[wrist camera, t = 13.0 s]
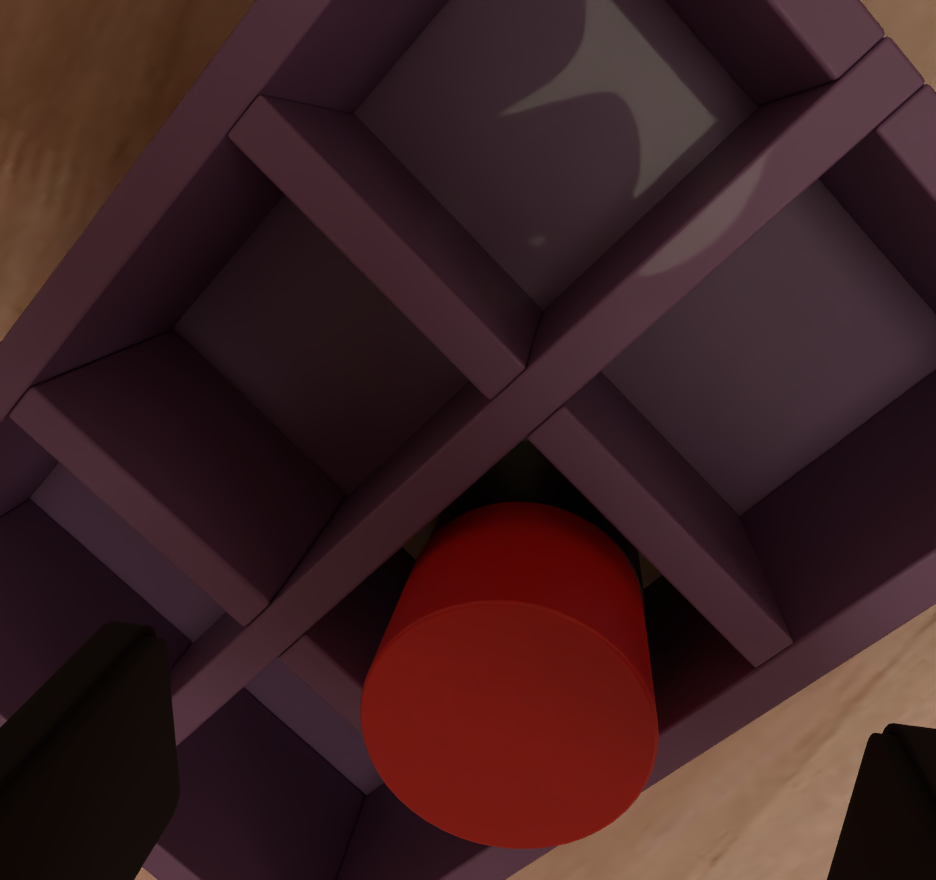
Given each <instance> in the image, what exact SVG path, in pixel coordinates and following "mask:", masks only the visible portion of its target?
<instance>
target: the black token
mask: <svg viewBox="0 0 936 880" xmlns="http://www.w3.org/2000/svg"><path fill="white" fill-rule="evenodd" d="M516 501H517V502H534V503H540V504H546V505H550V506H554V507H557V508H560V509H564V510H566V511H569V512H571V513H573V514H575V515H578V516H580V517H582V518H583V519H585V520H587V521H588V522H590V523H592V524H593V525H595V526H596V527H597V528H599V529H600V530H601V531H603V532H604V533H605V534H606V535H607V536H608V537H609V538H610V539H611V540H612V541H613V542H614V543H615V544H616V545H617V546H618V547H619V548H620V550H621V551H622V552H623V554H624V555H625V556H626V558H627V559H628V561H629V563H630V565H631V567H632V568H633V570H634V573H635V575H636V578H637V580H638V583H639V587H640V591H641V595H642V601H643V609H644V617H645V599H644V590H643V583H642V575H641V568H640V560H639V553H638V550H637V549H636V548H635V547H634V546H633V545H632V544H631V543H630V542H629V541H628V540H627V539H626V538H625V537H624V536H623V535H622V534H621V533H620V532H619V531H618V530H617V529H616V528H615V527H614V526H613V525H612V524H611V523H610V522H609V521H608V520H607V519H606V518H605V516H604V515H603V514H602V513H601V512H600V511H599V510H598V509H597V508H596V507H595V506H594V505H593V504H592V503H591V502H590V501H589V500H588V499H587V498H586V497H585V496H584V495H583V494H582V493H581V492H580V491H579V490H578V489H577V488H576V487H575V486H574V485H573V484H572V483H571V482H570V481H569V480H568V479H567V478H566V477H565V476H564V475H563V474H562V473H561V472H560V471H559V470H558V469H557V468H556V467H555V466H554V465H553V464H552V463H551V462H550V461H549V460H548V459H547V458H546V457H545V456H544V455H543V454H542V453H541V452H540V451H539V450H538V449H537V448H536V447H535V446H534V445H533V444H532V443H531V442H530V441H529V440H528V441H521V442H520V443H519V444H518V445H516V446H515V447H514V448H513V449H512V450H511V451H510V452H509V453H507V454H506V455H505V456H504V457H503V458H502V459H501V460H500V461H498V462H497V463H496V464H495V465H494V466H493V467H492V468H490V469H489V470H488V471H487V472H486V473H485V474H484V475H483V476H481V477H480V478H479V479H478V480H477V481H476V482H475V483H474V484H472V485H471V486H470V487H469V488H468V489H467V490H466V491H465V492H463V493H462V494H461V495H460V496H459V497H458V498H457V499H455V500H454V501H453V502H452V503H451V504H450V505H449V506H448V507H446V508H445V509H444V510H443V511H442V512H441V513H440V514H439V516H438V518H437V520H436V523H435V525H434V528H433V530H432V532H431V535H430V537H429V540H430V539H431V537H432V536H433V535H434V534H435V533H436V532H437V531H439V530H440V529H441V528H442V527H443V526H444V525H446V524H447V523H449V522H450V521H452V520H453V519H455V518H456V517H458V516H460V515H462V514H464V513H466V512H468V511H471V510H474V509H477V508H480V507H483V506H486V505H491V504H496V503H502V502H516ZM429 540H428V541H429Z"/></svg>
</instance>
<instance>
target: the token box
mask: <svg viewBox="0 0 936 880" xmlns="http://www.w3.org/2000/svg"><path fill="white" fill-rule="evenodd" d="M884 34H885V33H884V30H883V28H882V27H881V26H880V24H879V23H878V22H877V21H876V20H875V18H874V17H873V16H872V15H871V13H870V12H869V11H868V10H867V9H866V7H865V6H864V5H863V4H862V2H861V1H860V0H256V1H255V2H254V3H253V5H252V6H251V7H250V9H249V10H248V11H247V13H246V14H245V15H244V17H243V18H242V19H241V21H240V22H239V23H238V25H237V26H236V27H235V29H234V30H233V31H232V33H231V34H230V35H229V37H228V38H227V39H226V41H225V42H224V43H223V45H222V46H221V47H220V49H219V50H218V51H217V53H216V54H215V56H214V57H213V58H212V60H211V61H210V62H209V64H208V65H207V66H206V68H205V69H204V70H203V72H202V73H201V74H200V76H199V77H198V78H197V80H196V81H195V82H194V84H193V85H192V86H191V88H190V89H189V90H188V92H187V93H186V94H185V96H184V97H183V98H182V100H181V101H180V102H179V104H178V105H177V106H176V108H175V109H174V110H173V112H172V113H171V115H170V116H169V117H168V119H167V120H166V121H165V123H164V124H163V125H162V127H161V128H160V129H159V131H158V132H157V133H156V135H155V136H154V137H153V139H152V140H151V141H150V143H149V144H148V145H147V147H146V148H145V149H144V151H143V152H142V153H141V155H140V156H139V157H138V159H137V160H136V161H135V163H134V164H133V165H132V167H131V168H130V170H129V171H128V172H127V174H126V175H125V176H124V178H123V179H122V180H121V182H120V183H119V184H118V186H117V187H116V188H115V190H114V191H113V192H112V194H111V195H110V196H109V198H108V199H107V200H106V202H105V203H104V204H103V206H102V207H101V208H100V210H99V211H98V212H97V214H96V215H95V216H94V218H93V219H92V220H91V222H90V223H89V224H88V226H87V227H86V229H85V230H84V231H83V233H82V234H81V235H80V237H79V238H78V239H77V241H76V242H75V243H74V245H73V246H72V247H71V249H70V250H69V251H68V253H67V254H66V255H65V257H64V258H63V259H62V261H61V262H60V263H59V265H58V266H57V267H56V269H55V270H54V271H53V273H52V274H51V275H50V277H49V278H48V279H47V281H46V282H45V284H44V285H43V286H42V288H41V289H40V290H39V292H38V293H37V294H36V296H35V297H34V298H33V300H32V301H31V302H30V304H29V305H28V306H27V308H26V309H25V310H24V312H23V313H22V314H21V316H20V317H19V318H18V320H17V321H16V322H15V324H14V325H13V326H12V328H11V329H10V330H9V332H8V333H7V334H6V336H5V337H4V339H3V340H2V341H1V343H0V727H1V726H2V725H3V724H4V723H5V722H6V721H7V720H8V719H9V718H10V717H11V716H12V715H13V714H14V713H15V712H16V711H17V710H18V709H19V708H20V707H21V706H22V705H23V704H24V703H25V702H26V701H27V700H28V699H29V698H30V697H31V696H32V695H33V694H34V693H35V692H36V691H37V690H38V689H39V688H40V687H41V686H42V685H43V684H44V683H45V682H46V681H47V680H48V679H49V678H50V677H51V676H52V675H53V674H54V673H55V672H56V671H57V670H58V669H59V668H60V667H61V666H62V665H63V664H64V663H65V662H66V661H67V660H68V659H69V658H70V657H71V656H72V655H73V654H74V653H75V652H76V651H77V650H78V649H79V648H80V647H81V646H82V645H83V644H84V643H85V642H86V641H87V640H88V639H89V638H90V637H91V636H92V635H93V634H94V633H95V632H96V631H97V630H98V629H99V628H100V627H101V626H102V625H104V624H105V623H106V622H108V621H120V622H128V623H136V624H143V625H149V626H151V627H153V628H154V630H155V631H156V635H157V637H159V638H163V639H164V640H165V642H166V645H167V653H168V664H169V675H170V685H171V696H172V707H173V718H174V728H175V739H176V750H177V761H178V771H179V782H180V794H179V800H178V804H177V807H176V810H175V813H174V815H173V816H172V818H171V820H170V822H169V823H168V825H167V827H166V828H165V830H164V832H163V833H162V835H161V836H160V838H159V840H158V841H157V843H156V845H155V846H154V848H153V850H152V851H151V853H150V854H149V856H148V858H147V859H146V861H145V863H144V864H143V866H142V867H143V868H144V869H145V870H147V871H148V872H149V873H150V874H152V875H153V876H154V877H155V878H156V879H158V880H505V879H507V878H508V877H510V876H511V875H513V874H515V873H516V872H518V871H519V870H521V869H522V868H524V867H525V866H527V865H529V864H530V863H532V862H533V861H535V860H536V859H538V858H540V857H541V856H543V855H544V854H546V853H547V852H549V851H550V850H552V849H554V848H555V847H557V846H553V847H547V848H537V849H510V848H500V847H493V846H488V845H483V844H479V843H475V842H472V841H469V840H466V839H462V838H459V837H457V836H455V835H452V834H450V833H448V832H445V831H443V830H441V829H439V828H438V827H436V826H434V825H432V824H430V823H429V822H427V821H425V820H424V819H423V818H421V817H420V816H418V815H417V814H416V813H414V812H413V811H411V810H410V809H409V808H408V807H407V806H406V805H405V804H404V803H402V802H401V801H400V800H399V799H398V798H397V797H396V796H395V794H394V793H393V792H392V791H391V790H390V789H389V788H388V787H387V785H386V784H385V782H384V781H383V780H382V778H381V777H380V775H379V774H378V772H377V770H376V768H375V767H374V765H373V763H372V761H371V759H370V757H369V754H368V751H367V748H366V746H365V743H364V738H363V733H362V729H361V720H360V703H361V693H362V689H363V686H364V682H365V678H366V676H367V673H368V671H369V669H370V666H371V664H372V662H373V659H374V657H375V655H376V652H377V650H378V648H379V645H380V643H381V641H382V638H383V636H384V634H385V631H386V629H387V627H388V624H389V622H390V620H391V617H392V615H393V613H394V610H395V608H396V606H397V603H398V601H399V599H400V596H401V594H402V592H403V589H404V587H405V585H406V582H407V580H408V578H409V575H410V573H411V571H412V568H413V566H414V564H415V561H416V559H417V557H418V555H419V554H420V552H421V550H422V549H423V547H424V546H425V544H426V543H427V542H428V540H429V537H430V535H431V532H432V530H433V528H434V525H435V523H436V520H437V518H438V516H439V514H440V513H441V512H442V511H443V510H444V509H445V508H446V507H448V506H449V505H450V504H451V503H452V502H453V501H454V500H455V499H457V498H458V497H459V496H460V495H461V494H462V493H463V492H465V491H466V490H467V489H468V488H469V487H470V486H471V485H472V484H474V483H475V482H476V481H477V480H478V479H479V478H480V477H481V476H483V475H484V474H485V473H486V472H487V471H488V470H489V469H490V468H492V467H493V466H494V465H495V464H496V463H497V462H498V461H500V460H501V459H502V458H503V457H504V456H505V455H506V454H507V453H509V452H510V451H511V450H512V449H513V448H514V447H515V446H516V445H518V444H519V443H520V442H521V441H528V440H529V441H530V442H531V443H532V444H533V445H534V446H535V447H536V448H537V449H538V450H539V451H540V452H541V453H542V454H543V455H544V456H545V457H546V458H547V459H548V460H549V461H550V462H551V463H552V464H553V465H554V466H555V467H556V468H557V469H558V470H559V471H560V472H561V473H562V474H563V475H564V476H565V477H566V478H567V479H568V480H569V481H570V482H571V483H572V484H573V485H574V486H575V487H576V488H577V489H578V490H579V491H580V492H581V493H582V494H583V495H584V496H585V497H586V498H587V499H588V500H589V501H590V502H591V503H592V504H593V505H594V506H595V507H596V508H597V509H598V510H599V511H600V512H601V513H602V514H603V515H604V516H605V518H606V519H607V520H608V521H609V522H610V523H611V524H612V525H613V526H614V527H615V528H616V529H617V530H618V531H619V532H620V533H621V534H622V535H623V536H624V537H625V538H626V539H627V540H628V541H629V542H630V543H631V544H632V545H633V546H634V547H635V548H636V549H637V550H638V553H639V560H640V568H641V575H642V583H643V590H644V599H645V624H646V632H647V640H648V648H649V656H650V663H651V671H652V679H653V687H654V694H655V702H656V710H657V718H658V730H659V741H658V752H657V756H656V760H655V764H654V768H653V770H652V772H651V775H650V777H649V779H648V782H647V784H646V785H645V787H644V788H643V790H642V792H643V791H644V790H646V789H647V788H649V787H650V786H652V785H654V784H655V783H657V782H658V781H660V780H661V779H663V778H664V777H666V776H668V775H669V774H671V773H672V772H674V771H675V770H677V769H678V768H680V767H682V766H683V765H685V764H686V763H688V762H689V761H691V760H693V759H694V758H696V757H697V756H699V755H700V754H702V753H703V752H705V751H707V750H708V749H710V748H711V747H713V746H714V745H716V744H718V743H719V742H721V741H722V740H724V739H725V738H727V737H728V736H730V735H732V734H733V733H735V732H736V731H738V730H739V729H741V728H742V727H744V726H746V725H747V724H749V723H750V722H752V721H753V720H755V719H757V718H758V717H760V716H761V715H763V714H764V713H766V712H767V711H769V710H771V709H772V708H774V707H775V706H777V705H778V704H780V703H782V702H783V701H785V700H786V699H788V698H789V697H791V696H792V695H794V694H796V693H797V692H799V691H800V690H802V689H803V688H805V687H807V686H808V685H810V684H811V683H813V682H814V681H816V680H817V679H819V678H821V677H822V676H824V675H825V674H827V673H828V672H830V671H831V670H833V669H835V668H836V667H838V666H839V665H841V664H842V663H844V662H846V661H847V660H849V659H850V658H852V657H853V656H855V655H856V654H858V653H860V652H861V651H863V650H864V649H866V648H867V647H869V646H871V645H872V644H874V643H875V642H877V641H878V640H880V639H881V638H883V637H885V636H886V635H888V634H889V633H891V632H892V631H894V630H895V629H897V628H899V627H900V626H902V625H903V624H905V623H906V622H908V621H910V620H911V619H913V618H914V617H916V616H917V615H919V614H920V613H922V612H924V611H925V610H927V609H928V608H930V607H931V606H933V605H935V604H936V92H935V91H934V90H933V88H932V87H931V86H930V85H928V84H925V85H923V84H924V82H925V81H924V78H923V77H922V75H921V74H920V73H919V72H918V70H917V69H916V68H915V67H914V66H913V64H912V63H911V62H910V61H909V59H908V58H907V57H906V56H905V55H904V53H903V52H902V51H901V50H900V48H899V47H898V46H897V45H896V44H895V42H894V41H893V40H892V39H891V38H890V37H885V38H883V36H884Z"/></svg>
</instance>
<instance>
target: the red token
mask: <svg viewBox="0 0 936 880" xmlns="http://www.w3.org/2000/svg"><path fill="white" fill-rule="evenodd" d="M360 720H361V729H362V733H363V738H364V743H365V746H366V748H367V751H368V754H369V757H370V759H371V761H372V763H373V765H374V767H375V768H376V770H377V772H378V774H379V775H380V777H381V778H382V780H383V781H384V782H385V784H386V785H387V787H388V788H389V789H390V790H391V791H392V792H393V793H394V794H395V796H396V797H397V798H398V799H399V800H400V801H401V802H402V803H404V804H405V805H406V806H407V807H408V808H409V809H410V810H411V811H413V812H414V813H416V814H417V815H418V816H420V817H421V818H423V819H424V820H425V821H427V822H429V823H430V824H432V825H434V826H436V827H438V828H439V829H441V830H443V831H445V832H448V833H450V834H452V835H455V836H457V837H459V838H462V839H466V840H469V841H472V842H475V843H479V844H483V845H488V846H493V847H500V848H510V849H537V848H547V847H553V846H558V845H562V844H567V843H570V842H573V841H576V840H579V839H582V838H585V837H587V836H589V835H591V834H593V833H595V832H597V831H599V830H601V829H603V828H604V827H606V826H607V825H609V824H610V823H612V822H614V821H615V820H616V819H617V818H618V817H619V816H621V815H622V814H623V813H624V812H625V811H626V810H627V809H628V808H629V807H630V806H631V805H632V804H633V802H634V801H635V800H636V799H637V798H638V796H639V795H640V793H641V792H642V790H643V788H644V787H645V785H646V784H647V782H648V779H649V777H650V775H651V772H652V770H653V768H654V764H655V760H656V756H657V752H658V741H659V730H658V718H657V710H656V702H655V694H654V687H653V679H652V671H651V663H650V656H649V648H648V640H647V632H646V624H645V617H644V609H643V601H642V595H641V591H640V587H639V583H638V580H637V578H636V575H635V573H634V570H633V568H632V567H631V565H630V563H629V561H628V559H627V558H626V556H625V555H624V554H623V552H622V551H621V550H620V548H619V547H618V546H617V545H616V544H615V543H614V542H613V541H612V540H611V539H610V538H609V537H608V536H607V535H606V534H605V533H604V532H603V531H601V530H600V529H599V528H597V527H596V526H595V525H593V524H592V523H590V522H588V521H587V520H585V519H583V518H582V517H580V516H578V515H575V514H573V513H571V512H569V511H566V510H564V509H560V508H557V507H554V506H550V505H546V504H540V503H534V502H517V501H516V502H502V503H496V504H491V505H486V506H483V507H480V508H477V509H474V510H471V511H468V512H466V513H464V514H462V515H460V516H458V517H456V518H455V519H453V520H452V521H450V522H449V523H447V524H446V525H444V526H443V527H442V528H441V529H440V530H439V531H437V532H436V533H435V534H434V535H433V536H432V537H431V539H430V540H429V541H428V542H427V543H426V544H425V546H424V547H423V549H422V550H421V552H420V554H419V555H418V557H417V559H416V561H415V564H414V566H413V568H412V571H411V573H410V575H409V578H408V580H407V582H406V585H405V587H404V589H403V592H402V594H401V596H400V599H399V601H398V603H397V606H396V608H395V610H394V613H393V615H392V617H391V620H390V622H389V624H388V627H387V629H386V631H385V634H384V636H383V638H382V641H381V643H380V645H379V648H378V650H377V652H376V655H375V657H374V659H373V662H372V664H371V666H370V669H369V671H368V673H367V676H366V678H365V682H364V686H363V689H362V693H361V703H360Z"/></svg>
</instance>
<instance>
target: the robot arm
mask: <svg viewBox="0 0 936 880" xmlns="http://www.w3.org/2000/svg"><path fill="white" fill-rule="evenodd" d="M179 794H180V782H179V771H178V761H177V750H176V739H175V728H174V718H173V707H172V696H171V685H170V675H169V664H168V653H167V645H166V642H165V640H164V639H163V638H159V637H157V635H156V631H155V630H154V628H153V627H151V626H149V625H143V624H136V623H128V622H120V621H108V622H106V623H105V624H104V625H102V626H101V627H100V628H99V629H98V630H97V631H96V632H95V633H94V634H93V635H92V636H91V637H90V638H89V639H88V640H87V641H86V642H85V643H84V644H83V645H82V646H81V647H80V648H79V649H78V650H77V651H76V652H75V653H74V654H73V655H72V656H71V657H70V658H69V659H68V660H67V661H66V662H65V663H64V664H63V665H62V666H61V667H60V668H59V669H58V670H57V671H56V672H55V673H54V674H53V675H52V676H51V677H50V678H49V679H48V680H47V681H46V682H45V683H44V684H43V685H42V686H41V687H40V688H39V689H38V690H37V691H36V692H35V693H34V694H33V695H32V696H31V697H30V698H29V699H28V700H27V701H26V702H25V703H24V704H23V705H22V706H21V707H20V708H19V709H18V710H17V711H16V712H15V713H14V714H13V715H12V716H11V717H10V718H9V719H8V720H7V721H6V722H5V723H4V724H3V725H2V726H1V727H0V880H134V879H135V877H136V876H137V874H138V872H139V871H140V869H141V868H142V866H143V864H144V863H145V861H146V859H147V858H148V856H149V854H150V853H151V851H152V850H153V848H154V846H155V845H156V843H157V841H158V840H159V838H160V836H161V835H162V833H163V832H164V830H165V828H166V827H167V825H168V823H169V822H170V820H171V818H172V816H173V815H174V813H175V810H176V807H177V804H178V800H179ZM827 880H936V729H933V728H925V727H918V726H910V725H902V724H895V723H892V724H888V725H887V726H886V728H885V729H884V731H883V733H882V734H880V733H873V734H872V735H871V736H870V737H869V739H868V742H867V745H866V748H865V752H864V755H863V759H862V762H861V765H860V769H859V772H858V776H857V779H856V782H855V786H854V789H853V793H852V796H851V800H850V803H849V806H848V810H847V813H846V817H845V820H844V823H843V827H842V830H841V834H840V837H839V840H838V844H837V847H836V851H835V854H834V857H833V861H832V864H831V868H830V871H829V875H828V878H827Z"/></svg>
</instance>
